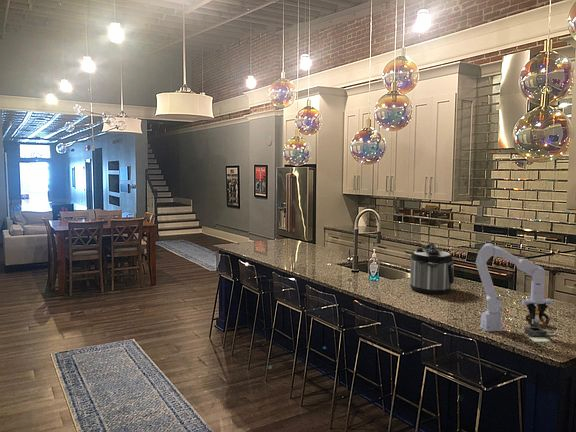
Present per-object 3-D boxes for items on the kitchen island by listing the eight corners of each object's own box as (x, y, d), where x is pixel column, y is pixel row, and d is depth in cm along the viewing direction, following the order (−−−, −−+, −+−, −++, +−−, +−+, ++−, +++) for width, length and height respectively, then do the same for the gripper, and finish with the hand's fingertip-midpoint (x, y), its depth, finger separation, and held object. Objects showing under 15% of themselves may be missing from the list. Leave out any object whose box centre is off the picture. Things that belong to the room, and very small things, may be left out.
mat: (534, 342, 227) (534, 341, 227) (528, 338, 232) (528, 337, 232) (550, 341, 228) (551, 341, 228) (544, 338, 233) (544, 337, 233)
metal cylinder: (530, 322, 238) (531, 308, 238) (536, 322, 239) (536, 308, 238) (534, 324, 235) (535, 310, 234) (540, 324, 236) (541, 310, 235)
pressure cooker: (438, 298, 305) (440, 248, 302) (400, 290, 325) (401, 243, 322) (461, 289, 326) (462, 243, 322) (423, 282, 346) (425, 239, 343)
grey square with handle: (532, 337, 234) (532, 331, 233) (524, 332, 240) (524, 327, 240) (557, 337, 235) (558, 331, 234) (549, 332, 242) (549, 326, 241)
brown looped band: (537, 321, 259) (545, 311, 255) (546, 334, 251) (555, 323, 247) (518, 317, 257) (526, 306, 253) (526, 330, 249) (535, 319, 245)
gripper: (528, 293, 231) (526, 321, 232) (556, 293, 232) (555, 320, 233) (519, 290, 238) (518, 316, 239) (547, 289, 239) (546, 316, 240)
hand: (535, 318), depth 236 cm, fingers closed on metal cylinder, 3 cm apart
